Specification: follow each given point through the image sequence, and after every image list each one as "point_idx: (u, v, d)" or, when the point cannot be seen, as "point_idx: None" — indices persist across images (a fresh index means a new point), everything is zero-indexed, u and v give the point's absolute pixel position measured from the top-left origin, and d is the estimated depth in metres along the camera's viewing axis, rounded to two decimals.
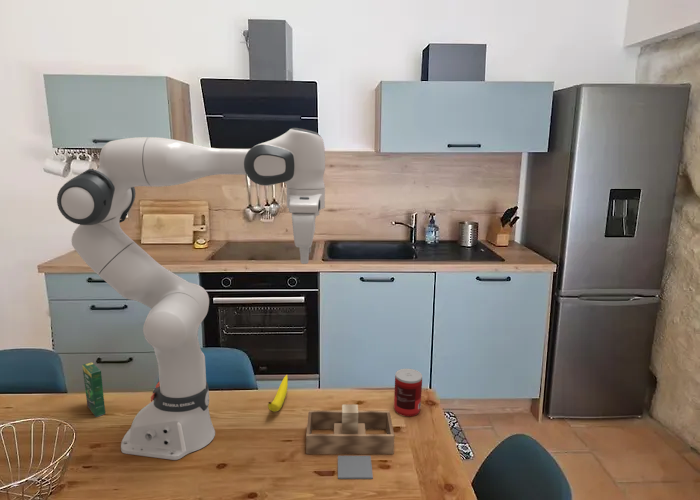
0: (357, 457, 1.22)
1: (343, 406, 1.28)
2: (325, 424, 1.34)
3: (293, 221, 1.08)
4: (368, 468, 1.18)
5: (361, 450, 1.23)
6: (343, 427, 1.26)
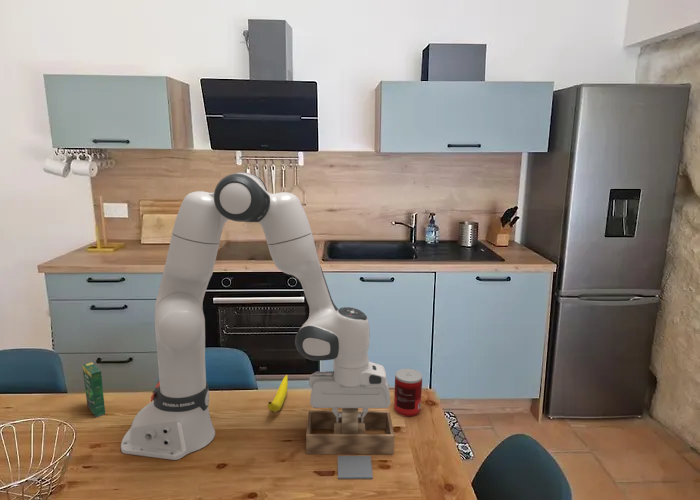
0: (357, 457, 1.22)
1: None
2: (325, 424, 1.34)
3: (388, 388, 1.24)
4: (368, 468, 1.18)
5: (361, 450, 1.23)
6: (343, 427, 1.26)
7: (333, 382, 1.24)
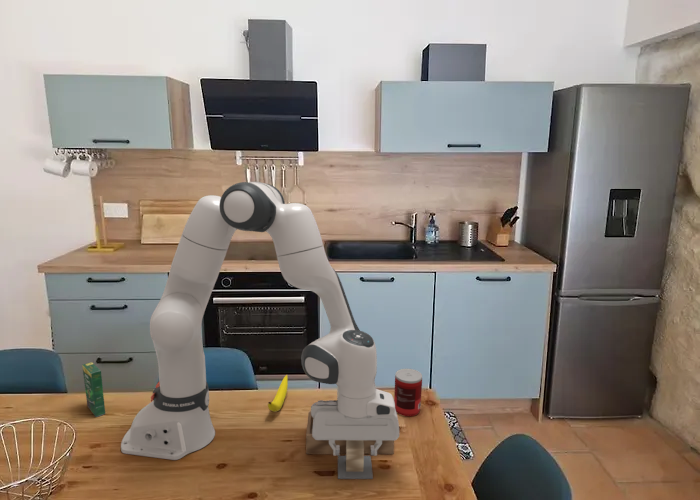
0: None
1: (347, 440, 1.18)
2: None
3: (397, 419, 1.14)
4: (368, 468, 1.18)
5: None
6: (347, 464, 1.16)
7: (337, 412, 1.13)
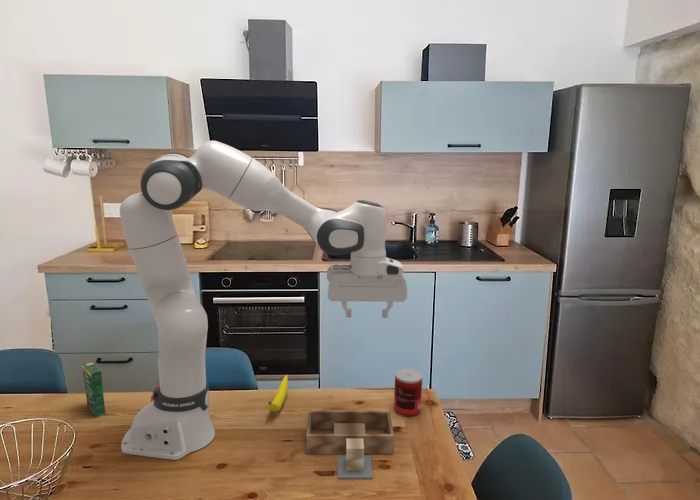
0: None
1: (347, 440, 1.18)
2: (325, 424, 1.34)
3: (405, 280, 1.25)
4: (368, 468, 1.18)
5: None
6: (347, 464, 1.16)
7: (351, 274, 1.25)
